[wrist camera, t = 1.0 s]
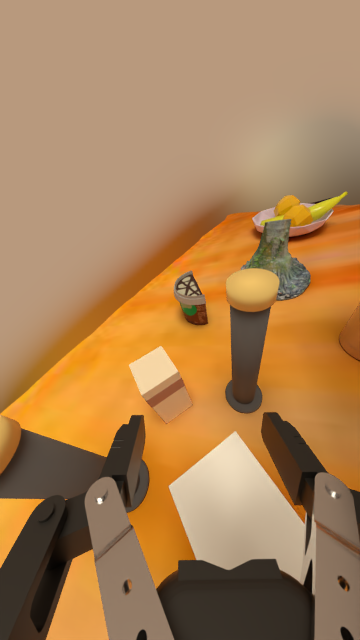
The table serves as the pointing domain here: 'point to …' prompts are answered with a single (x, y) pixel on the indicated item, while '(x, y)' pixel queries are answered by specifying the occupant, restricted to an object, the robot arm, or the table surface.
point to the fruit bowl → (298, 214)
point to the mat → (237, 511)
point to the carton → (161, 384)
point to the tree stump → (280, 260)
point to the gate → (85, 467)
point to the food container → (191, 299)
